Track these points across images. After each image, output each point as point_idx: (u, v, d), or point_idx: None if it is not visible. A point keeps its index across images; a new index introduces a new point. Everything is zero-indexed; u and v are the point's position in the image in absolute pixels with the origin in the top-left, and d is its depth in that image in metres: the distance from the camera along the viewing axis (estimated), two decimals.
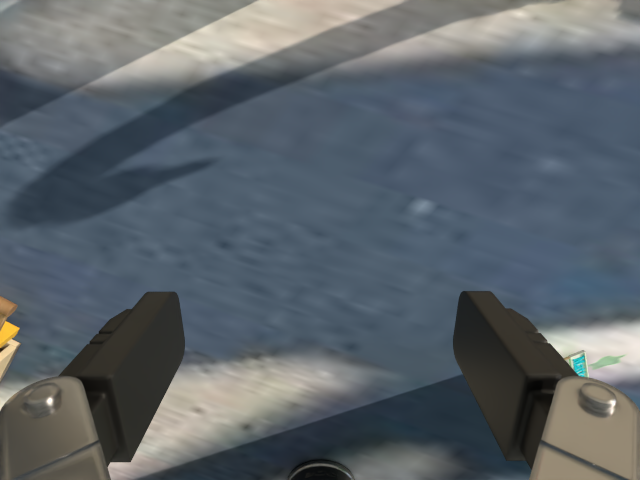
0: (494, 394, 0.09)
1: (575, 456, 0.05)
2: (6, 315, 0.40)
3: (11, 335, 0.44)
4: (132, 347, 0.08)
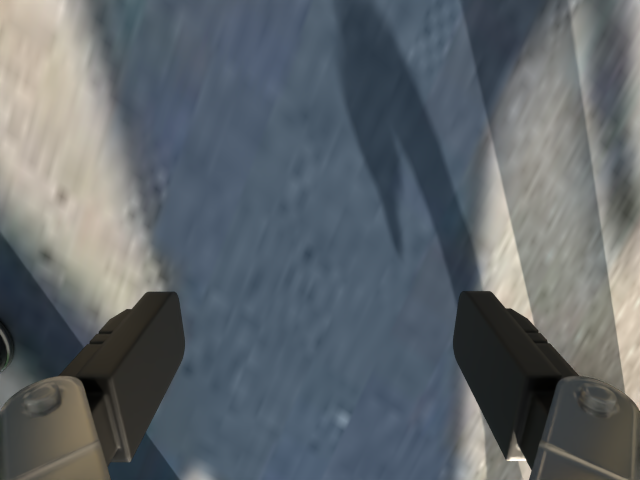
0: (494, 394, 0.09)
1: (574, 455, 0.05)
2: None
3: None
4: (132, 347, 0.08)
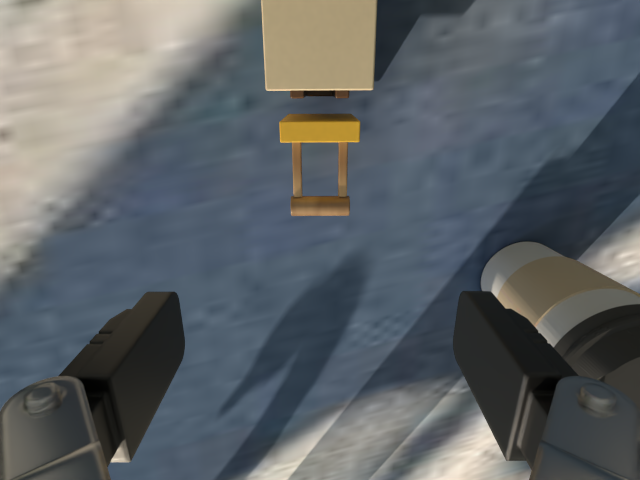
0: (494, 394, 0.09)
1: (575, 456, 0.05)
2: (291, 205, 0.28)
3: None
4: (132, 347, 0.08)
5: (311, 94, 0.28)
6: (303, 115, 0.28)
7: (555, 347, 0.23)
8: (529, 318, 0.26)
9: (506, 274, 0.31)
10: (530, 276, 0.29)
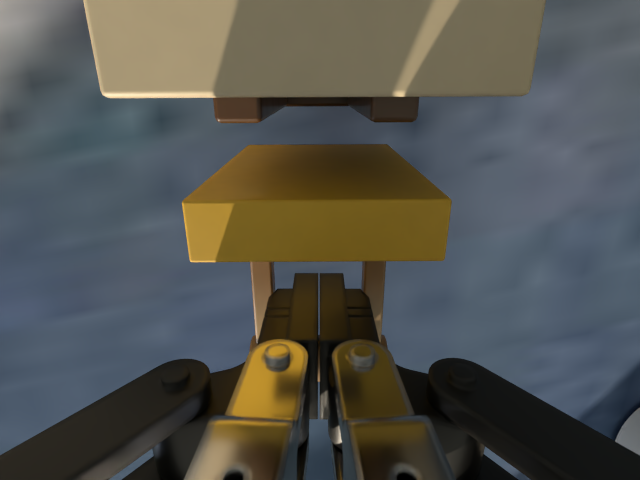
0: None
1: (374, 419, 0.06)
2: None
3: None
4: (317, 317, 0.09)
5: (297, 102, 0.12)
6: (278, 152, 0.12)
7: None
8: None
9: None
10: None
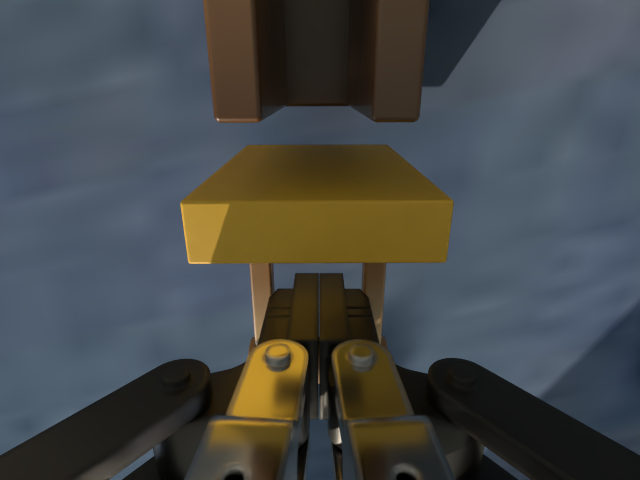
0: None
1: (373, 419, 0.06)
2: None
3: None
4: (317, 317, 0.09)
5: (297, 102, 0.12)
6: (278, 152, 0.12)
7: None
8: None
9: None
10: None
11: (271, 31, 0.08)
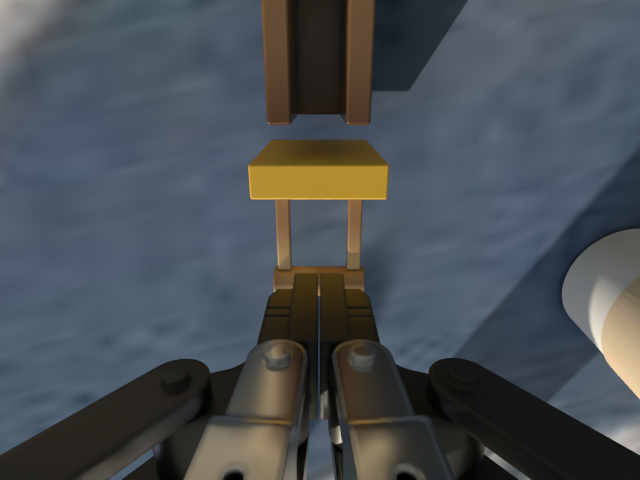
0: None
1: (374, 419, 0.06)
2: (274, 283, 0.18)
3: None
4: (317, 317, 0.09)
5: (306, 111, 0.18)
6: (293, 144, 0.18)
7: None
8: None
9: (621, 279, 0.19)
10: None
11: (294, 75, 0.14)
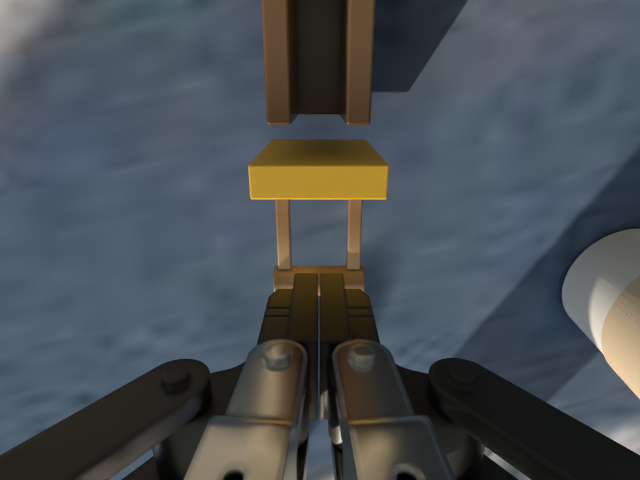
0: None
1: (374, 419, 0.06)
2: (274, 283, 0.18)
3: None
4: (317, 317, 0.09)
5: (306, 111, 0.18)
6: (293, 144, 0.18)
7: None
8: None
9: (621, 279, 0.19)
10: None
11: (294, 75, 0.14)
